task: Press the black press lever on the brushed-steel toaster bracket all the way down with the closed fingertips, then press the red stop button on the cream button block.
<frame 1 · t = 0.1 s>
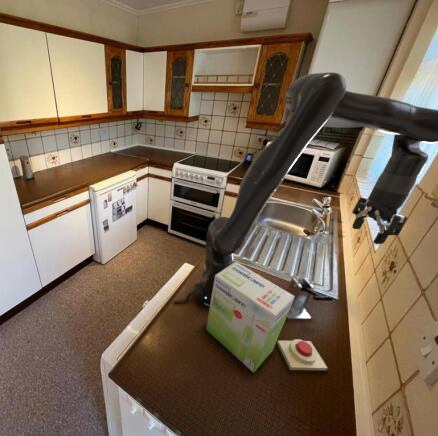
hand: (366, 235, 75), 29 cm above the countertop, tool pointing down, fingers open, 8 cm apart
press lever: (310, 291, 76), point 13 cm above the countertop, hinge at 25.0°
toothbrush box: (236, 341, 75), on the countertop
stop button: (304, 348, 68), point 4 cm above the countertop, slide at 0.1 cm
toaster bracket: (291, 308, 86), on the countertop
button block: (299, 358, 70), on the countertop
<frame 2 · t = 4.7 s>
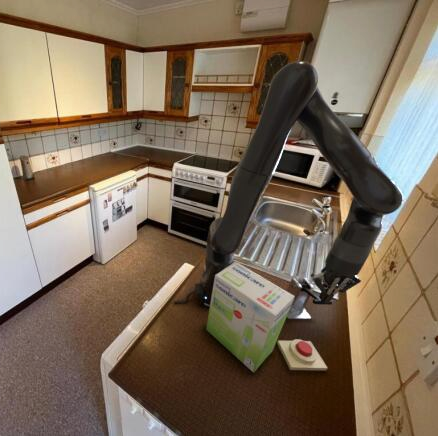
hand: (323, 300, 70), 15 cm above the countertop, tool pointing down, fingers closed
press lever: (310, 293, 76), point 12 cm above the countertop, hinge at 18.4°
everything else where it was.
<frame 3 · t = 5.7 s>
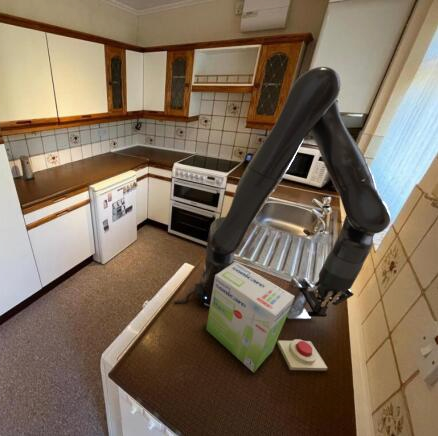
hand: (318, 312, 73), 10 cm above the countertop, tool pointing down, fingers closed
press lever: (308, 298, 77), point 10 cm above the countertop, hinge at -10.0°, touching gripper
everything else where it was.
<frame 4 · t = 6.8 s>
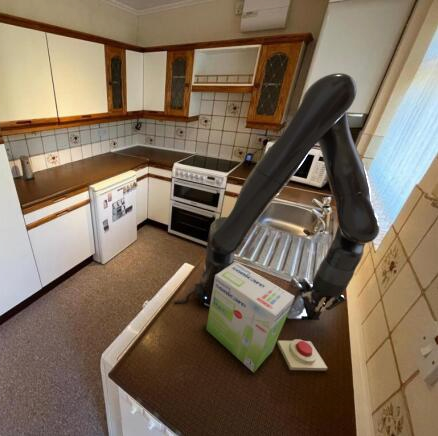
hand: (312, 316, 75), 7 cm above the countertop, tool pointing down, fingers closed
press lever: (305, 300, 78), point 9 cm above the countertop, hinge at -32.5°, touching gripper
everything else where it was.
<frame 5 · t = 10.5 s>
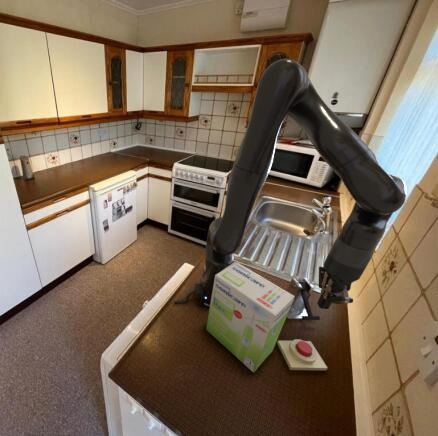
hand: (322, 306, 66), 17 cm above the countertop, tool pointing down, fingers closed
press lever: (305, 300, 78), point 9 cm above the countertop, hinge at -30.8°
everything else where it was.
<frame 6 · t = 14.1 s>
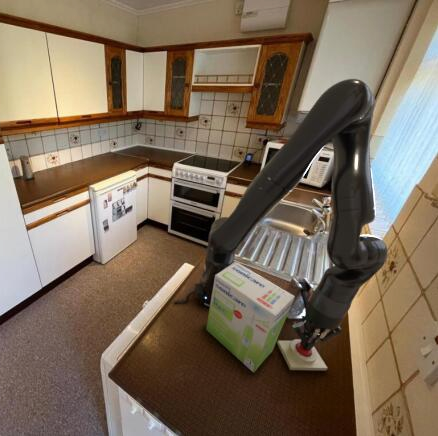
hand: (305, 347, 68), 5 cm above the countertop, tool pointing down, fingers closed
stop button: (303, 349, 68), point 4 cm above the countertop, slide at -0.3 cm, touching gripper
everything else where it was.
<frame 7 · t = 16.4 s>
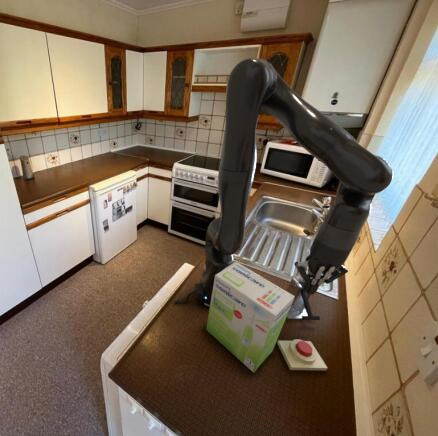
hand: (308, 292, 66), 21 cm above the countertop, tool pointing down, fingers closed
stop button: (304, 348, 68), point 4 cm above the countertop, slide at 0.1 cm
everything else where it was.
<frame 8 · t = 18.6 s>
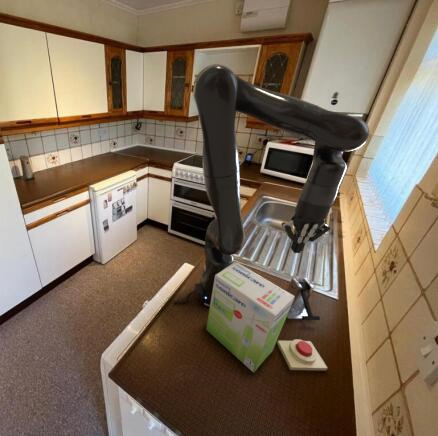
hand: (295, 251, 71), 27 cm above the countertop, tool pointing down, fingers closed
nothing on the countertop moved.
at the end: press lever at -31° (first picture: +25°); stop button pushed in 1.1 cm at the most during the clip, back to where it started at the end; stop button slide at 0.1 cm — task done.
